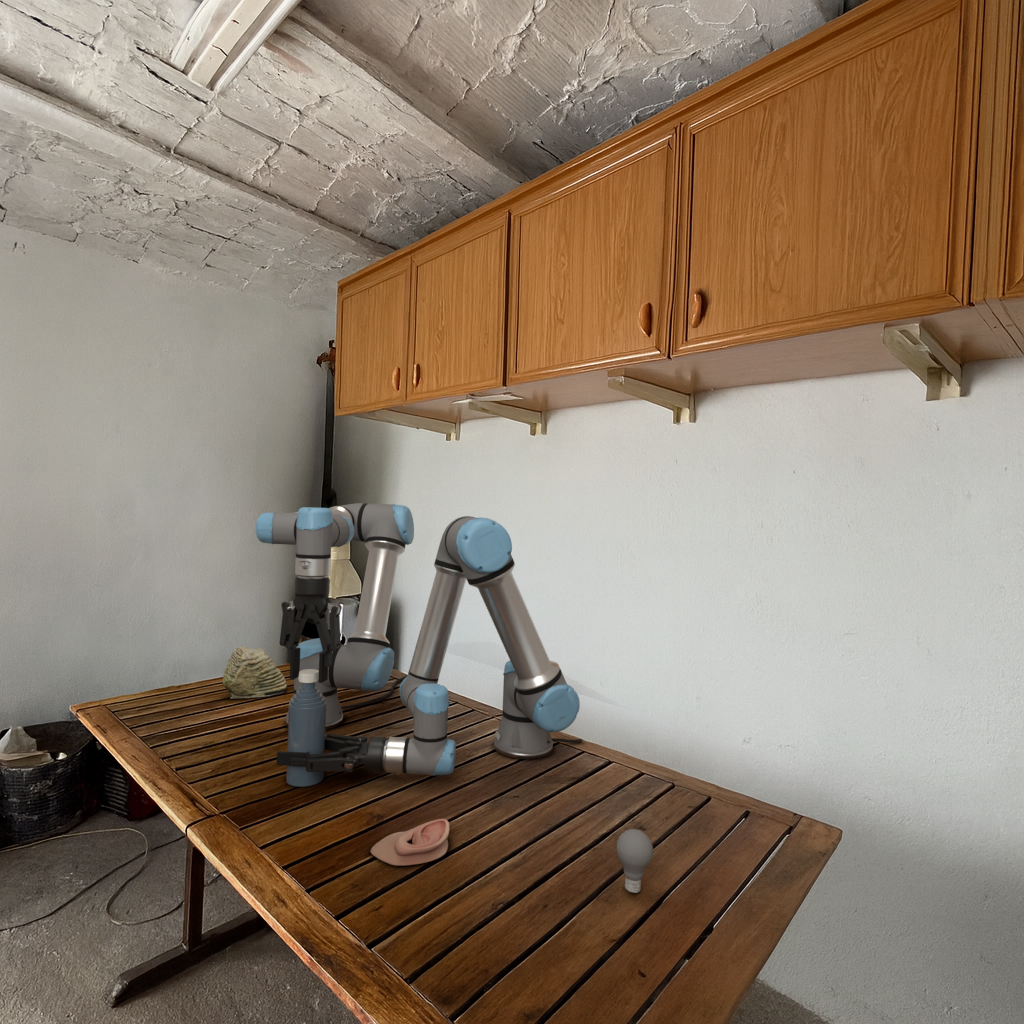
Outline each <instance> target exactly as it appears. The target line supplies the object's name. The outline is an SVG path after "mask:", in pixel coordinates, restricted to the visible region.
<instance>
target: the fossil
mask: <svg viewBox="0 0 1024 1024" xmlns="http://www.w3.org/2000/svg"><path fill="white" fill-rule="evenodd" d="M222 676H223V677H222V685H223V687H224V688H225V690H226V691H228V693H229V698H230V699H250V698H264V697H271V696H275V695H281V694H284V693H285V691H286V689H287V687H288V686H287V680H286V678H285V676H284V674H283V673H282V672H281V669H279V668H278V667H277V665H276V663H275V662H274V660H273V659H272V658H271V657H270V656H269V655H268V654H267V653H266V652H265V650H264V649H263V648H260V647H258V648H251V647H247V646H246V647H245V646H238V647H237V648H236V649H235V650H233V651H232V653H231V656H230V657H229V659H228V660H227V663H226V666H225V668H224V671H223V675H222Z"/></svg>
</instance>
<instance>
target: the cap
mask: <svg viewBox="0 0 1024 1024" xmlns="http://www.w3.org/2000/svg"><path fill="white" fill-rule="evenodd" d="M318 679H319V671H318V670H315V669H305V670H301V671H300V672H299V682H302V683H314V682H317V681H318Z"/></svg>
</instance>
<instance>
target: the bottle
mask: <svg viewBox="0 0 1024 1024" xmlns="http://www.w3.org/2000/svg"><path fill="white" fill-rule="evenodd" d="M288 707H289V708H288V710H289V716H288V727H287V743H286V744H287V745H286V747H287V748H286V752H303V753H307V752H309V753H310V755H313V754H321V753H326V752H325V751H326V750H325V737H326V730H325V727H326V700H325V697H324V696H323V694H322V693H321V692H320V690H319V689H317V686H316V682H314V683H302V686H301V687H300V688H299V690H298V691H297V692H296V694H294V693H293V695H292V697H291V698H290V701H289V703H288ZM285 773H286V774H285V782H286V783H287V784H288V785H289V786H293V787H298V788H299V787H301V788H303V787H311V786H314V785H317V784H319V783H321V782H322V781H323V780H324V777H325V776H324V775H325V772H307V771H306V766H286V771H285Z"/></svg>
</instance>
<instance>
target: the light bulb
mask: <svg viewBox="0 0 1024 1024" xmlns="http://www.w3.org/2000/svg"><path fill="white" fill-rule="evenodd" d="M615 849H616V854H617V857H618V859H619V861H620V863H621V865H622V867H623V873H624V874H623V875H624V876H625V878H624V888H625V890H627V891H628V892H630V893H634V894H635V893H639V892H640V891H641V889H642V887H641V886H642V879H643V877H644V875H645V871H646V868H647V867H648V866H649V864H650V863H651V861H652V859H653V855H654V847H653V843H652V841H651V838H649V836H648V835H647V834H646V833H645V832H643V831H642V830H641V829H636V828H629V829H627V830H625V831H623V832H622V833H621V834H620V835H619V837H618V839H617V841H616V847H615Z"/></svg>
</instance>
